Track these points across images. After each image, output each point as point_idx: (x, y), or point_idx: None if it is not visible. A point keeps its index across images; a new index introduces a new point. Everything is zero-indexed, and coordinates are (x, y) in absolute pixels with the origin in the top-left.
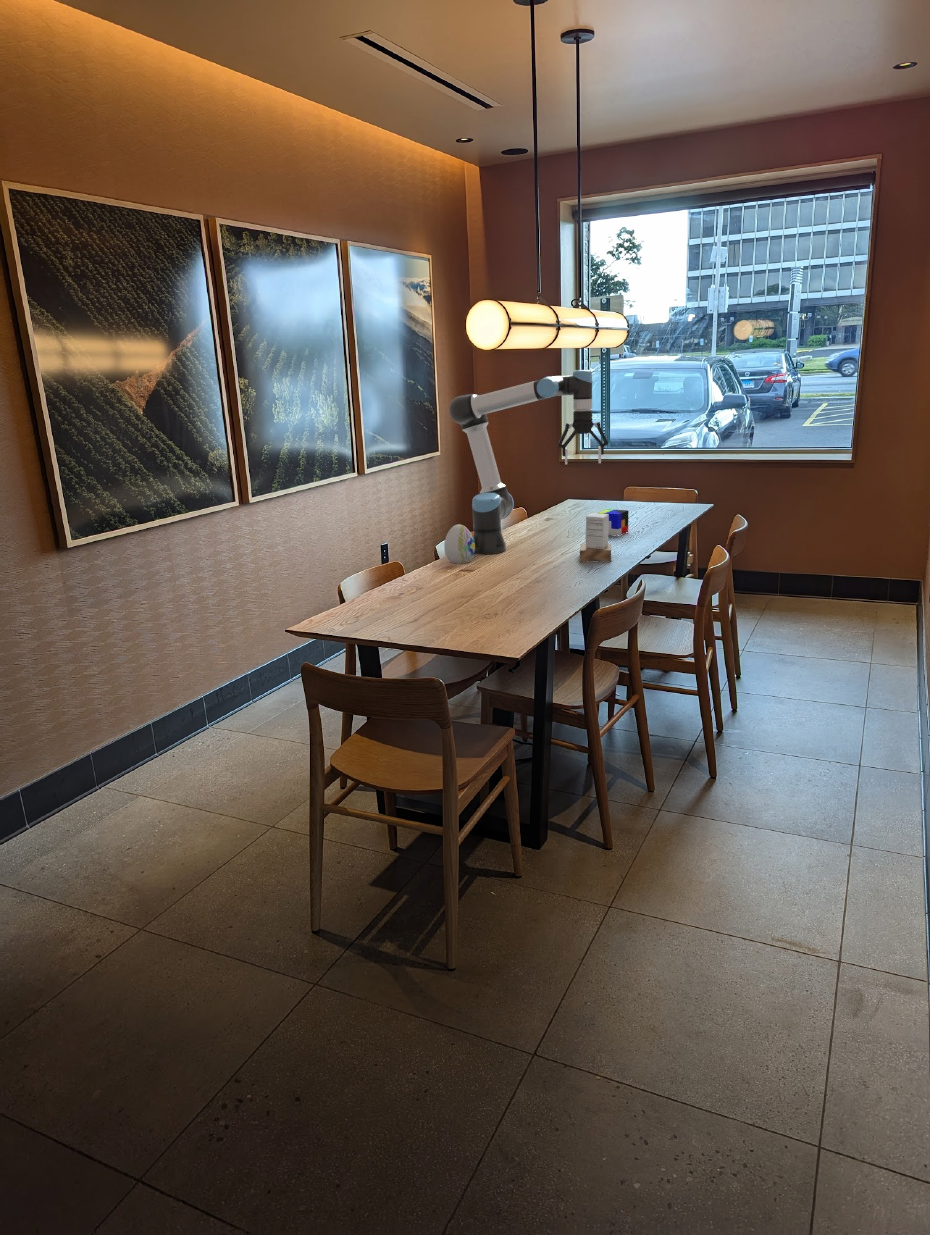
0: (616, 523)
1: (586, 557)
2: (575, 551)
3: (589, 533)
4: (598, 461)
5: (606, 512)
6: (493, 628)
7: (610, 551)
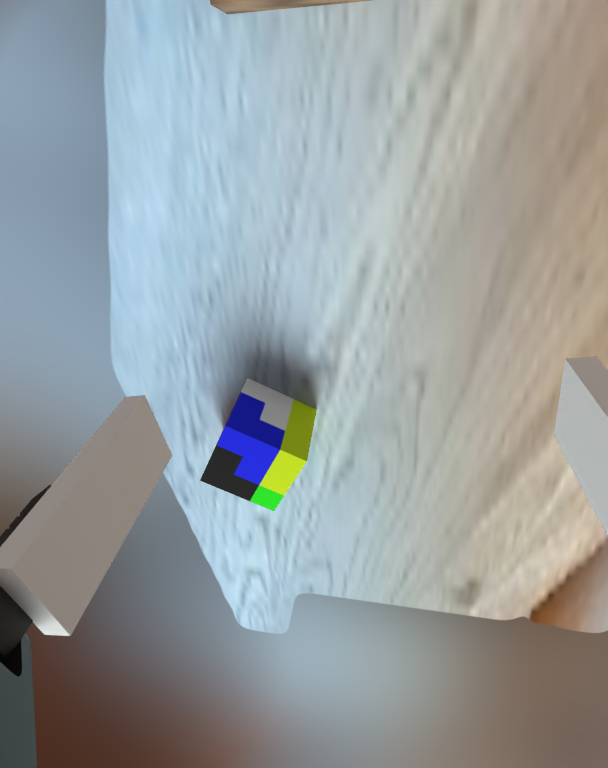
0: (241, 406)
1: None
2: (398, 97)
3: None
4: (163, 455)
5: (273, 459)
6: None
7: None
